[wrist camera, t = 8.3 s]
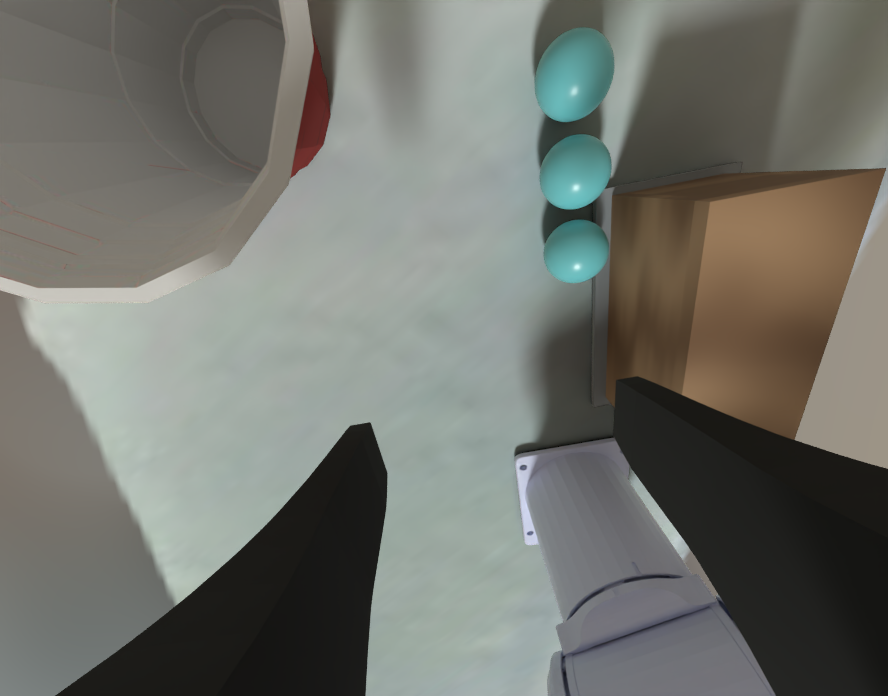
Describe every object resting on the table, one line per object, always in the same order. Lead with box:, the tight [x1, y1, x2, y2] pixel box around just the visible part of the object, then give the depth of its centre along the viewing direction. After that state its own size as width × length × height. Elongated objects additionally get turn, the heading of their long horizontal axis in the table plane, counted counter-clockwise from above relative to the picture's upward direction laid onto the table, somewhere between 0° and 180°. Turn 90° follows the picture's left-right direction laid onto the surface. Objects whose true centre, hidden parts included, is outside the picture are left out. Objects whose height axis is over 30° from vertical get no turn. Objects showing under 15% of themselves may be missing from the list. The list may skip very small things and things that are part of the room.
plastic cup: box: [0, 0, 330, 303], centre depth 10 cm, size 11×11×12 cm
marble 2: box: [544, 219, 609, 283], centre depth 17 cm, size 3×3×3 cm
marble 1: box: [540, 134, 612, 209], centre depth 15 cm, size 3×3×3 cm
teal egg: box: [535, 27, 614, 122], centre depth 14 cm, size 3×3×3 cm
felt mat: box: [591, 162, 742, 407], centre depth 20 cm, size 13×7×1 cm, turn 10°
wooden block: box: [606, 168, 886, 440], centre depth 17 cm, size 12×6×6 cm, turn 10°
